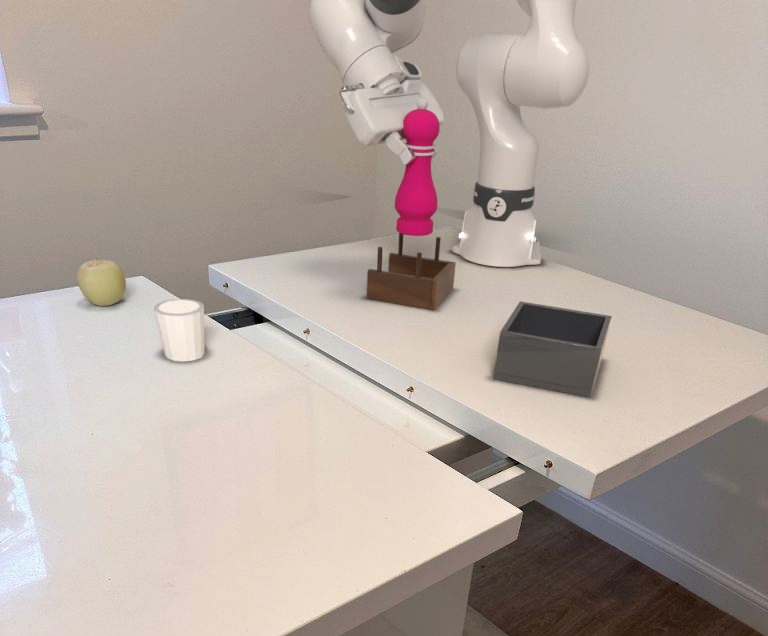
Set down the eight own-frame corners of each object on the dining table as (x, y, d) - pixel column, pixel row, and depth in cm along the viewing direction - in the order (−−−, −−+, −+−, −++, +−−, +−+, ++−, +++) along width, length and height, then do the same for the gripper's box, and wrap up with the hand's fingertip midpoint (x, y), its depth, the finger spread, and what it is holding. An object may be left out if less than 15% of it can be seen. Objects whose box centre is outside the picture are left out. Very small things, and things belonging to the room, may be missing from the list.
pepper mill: (419, 239, 119) (428, 102, 107) (385, 231, 123) (390, 96, 111) (443, 231, 124) (454, 98, 112) (409, 223, 127) (416, 93, 116)
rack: (389, 279, 136) (391, 230, 130) (453, 289, 132) (458, 239, 127) (366, 298, 126) (368, 246, 121) (434, 310, 123) (438, 256, 118)
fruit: (138, 303, 120) (130, 254, 115) (98, 314, 115) (89, 263, 110) (111, 292, 123) (103, 244, 119) (72, 302, 119) (62, 252, 114)
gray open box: (512, 345, 112) (519, 301, 108) (601, 360, 108) (611, 315, 104) (493, 379, 101) (500, 331, 97) (590, 397, 98) (601, 349, 94)
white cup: (192, 340, 108) (187, 294, 104) (218, 355, 104) (213, 307, 100) (151, 352, 104) (143, 304, 100) (176, 367, 100) (170, 319, 96)
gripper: (346, 71, 106) (396, 153, 107) (423, 65, 119) (467, 138, 121) (323, 102, 111) (371, 181, 112) (400, 93, 124) (443, 163, 125)
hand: (422, 159), depth 116 cm, fingers closed on pepper mill, 5 cm apart
